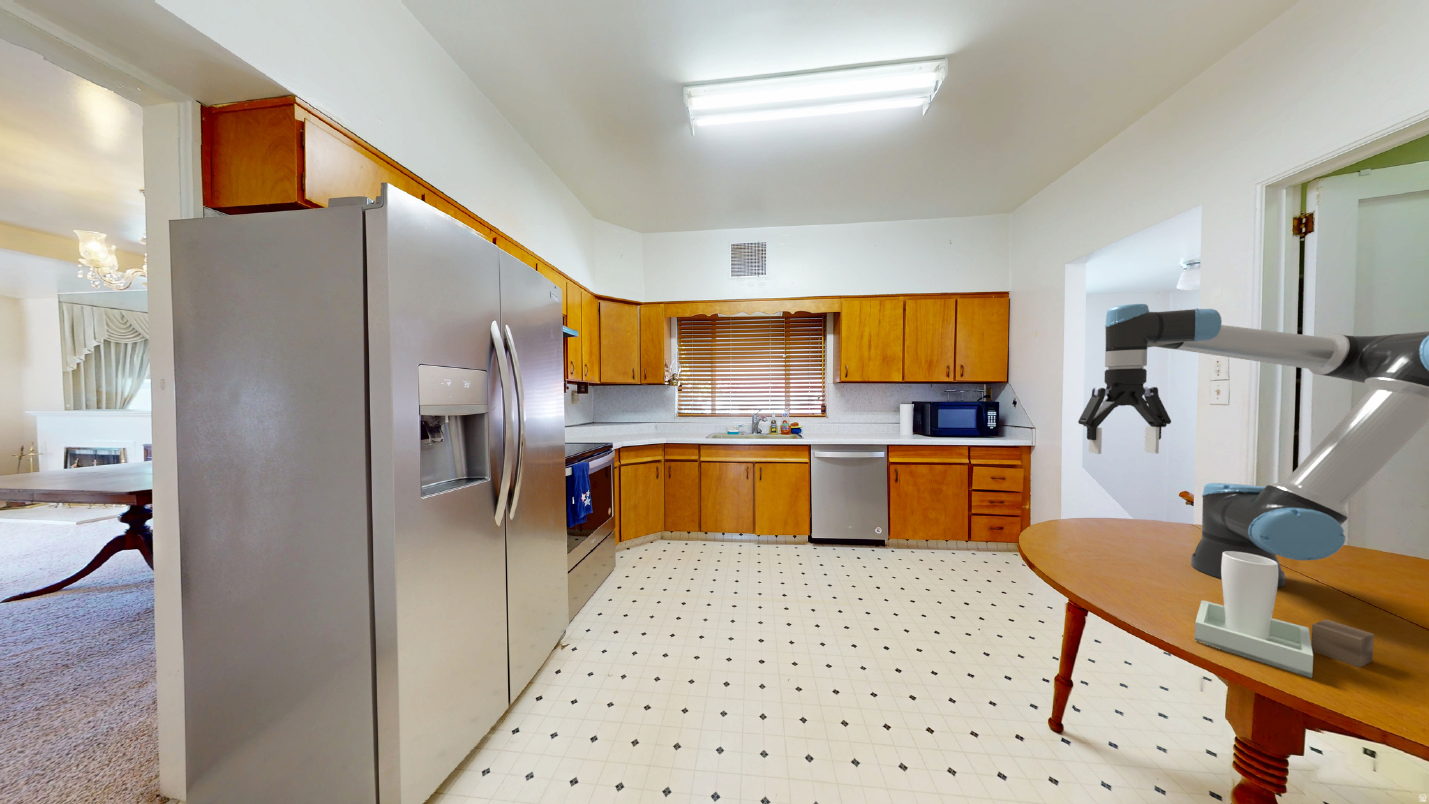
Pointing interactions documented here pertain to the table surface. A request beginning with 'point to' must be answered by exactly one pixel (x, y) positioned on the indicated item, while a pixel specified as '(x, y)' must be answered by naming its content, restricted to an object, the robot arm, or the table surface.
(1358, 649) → the walnut block
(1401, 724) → the table surface
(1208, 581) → the table surface
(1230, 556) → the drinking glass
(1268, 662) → the tray
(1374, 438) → the robot arm
